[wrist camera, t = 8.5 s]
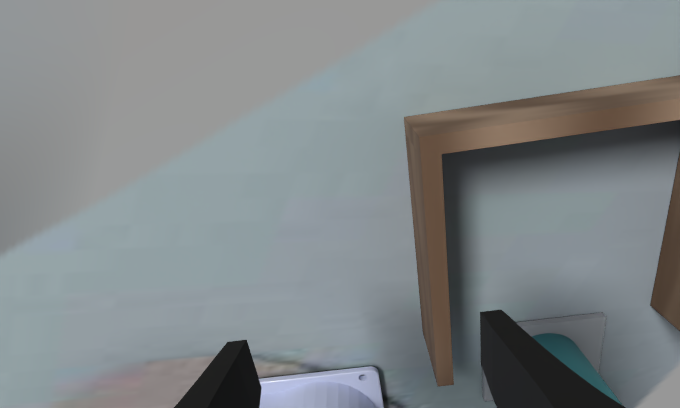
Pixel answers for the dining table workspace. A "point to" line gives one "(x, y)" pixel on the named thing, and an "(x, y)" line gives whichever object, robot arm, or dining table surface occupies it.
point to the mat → (577, 328)
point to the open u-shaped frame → (516, 127)
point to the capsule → (573, 360)
